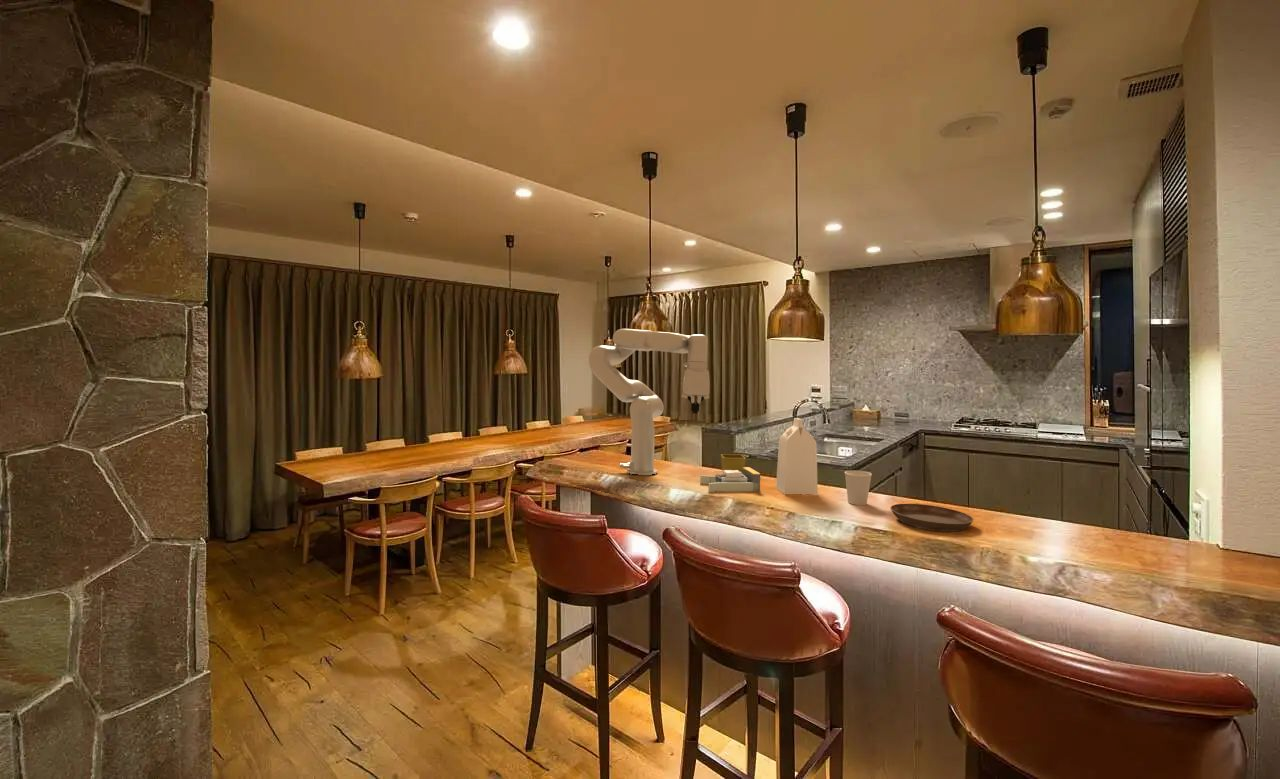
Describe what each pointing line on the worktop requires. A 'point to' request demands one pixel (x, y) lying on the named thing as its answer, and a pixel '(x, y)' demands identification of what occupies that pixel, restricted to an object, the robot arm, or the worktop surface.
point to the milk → (797, 461)
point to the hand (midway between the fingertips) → (694, 413)
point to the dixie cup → (857, 486)
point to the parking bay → (750, 485)
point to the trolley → (730, 476)
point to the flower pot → (733, 462)
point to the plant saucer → (931, 517)
